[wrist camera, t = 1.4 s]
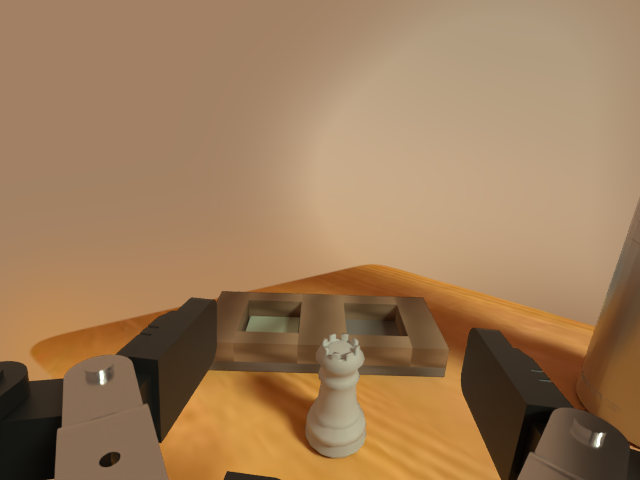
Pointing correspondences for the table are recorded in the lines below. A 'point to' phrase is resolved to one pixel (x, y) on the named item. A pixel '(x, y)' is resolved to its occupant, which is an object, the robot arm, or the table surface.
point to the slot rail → (327, 332)
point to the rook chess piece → (337, 400)
